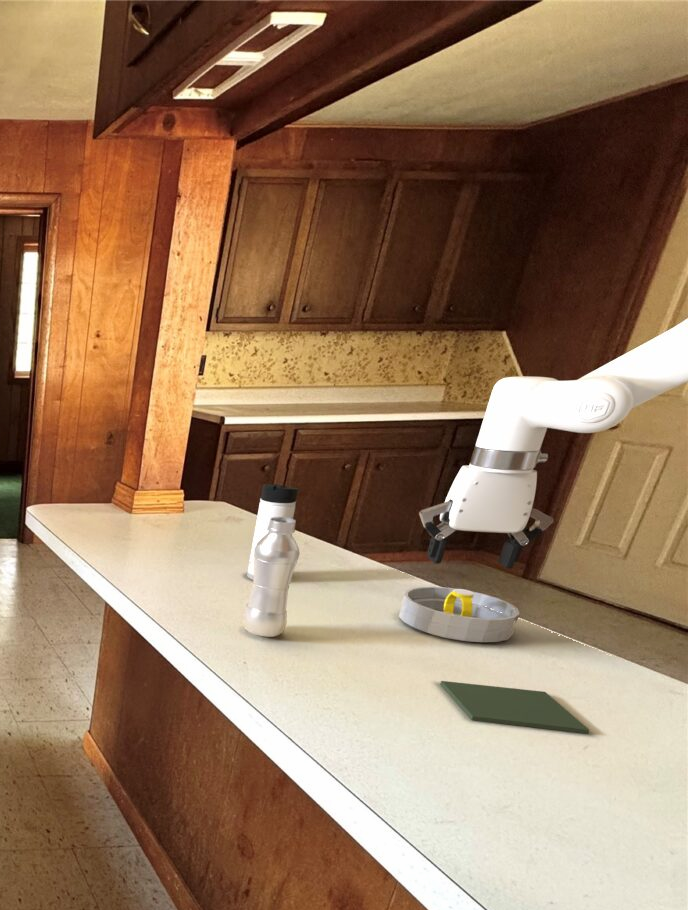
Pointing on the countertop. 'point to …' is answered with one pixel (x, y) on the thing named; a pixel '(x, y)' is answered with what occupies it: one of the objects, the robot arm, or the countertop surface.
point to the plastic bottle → (272, 579)
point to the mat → (512, 707)
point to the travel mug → (271, 512)
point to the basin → (458, 615)
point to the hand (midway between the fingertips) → (468, 563)
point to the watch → (465, 598)
